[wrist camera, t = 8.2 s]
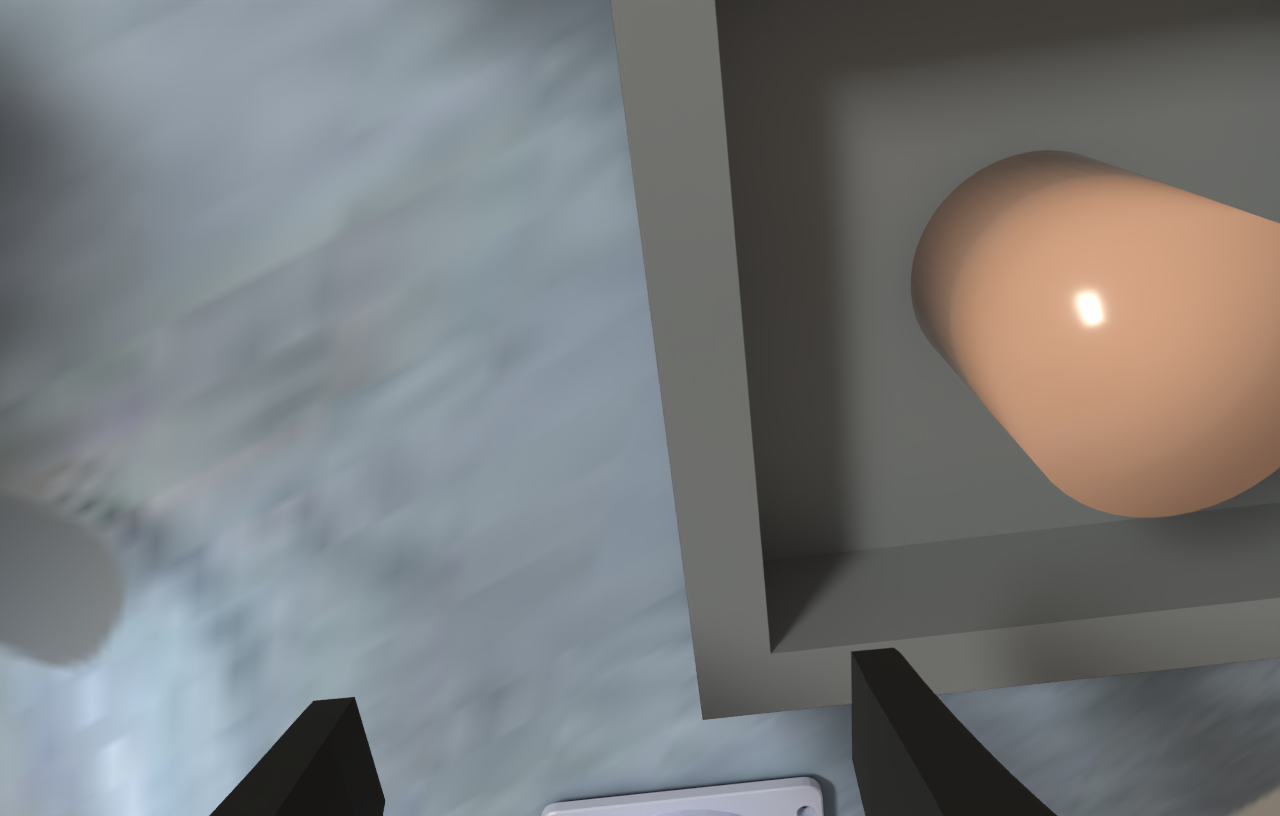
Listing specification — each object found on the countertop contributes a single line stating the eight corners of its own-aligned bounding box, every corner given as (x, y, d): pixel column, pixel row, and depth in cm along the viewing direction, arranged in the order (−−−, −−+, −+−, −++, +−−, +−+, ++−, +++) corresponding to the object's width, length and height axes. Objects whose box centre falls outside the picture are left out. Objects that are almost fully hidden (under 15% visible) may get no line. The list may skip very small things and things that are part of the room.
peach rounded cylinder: (1142, 360, 21) (1329, 492, 15) (916, 395, 21) (1019, 538, 15) (1155, 130, 19) (1376, 186, 13) (904, 173, 19) (1018, 245, 13)
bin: (1323, 536, 23) (1452, 639, 20) (691, 608, 24) (702, 719, 20) (1480, -212, 17) (1719, -268, 13) (603, -87, 17) (596, -106, 14)
